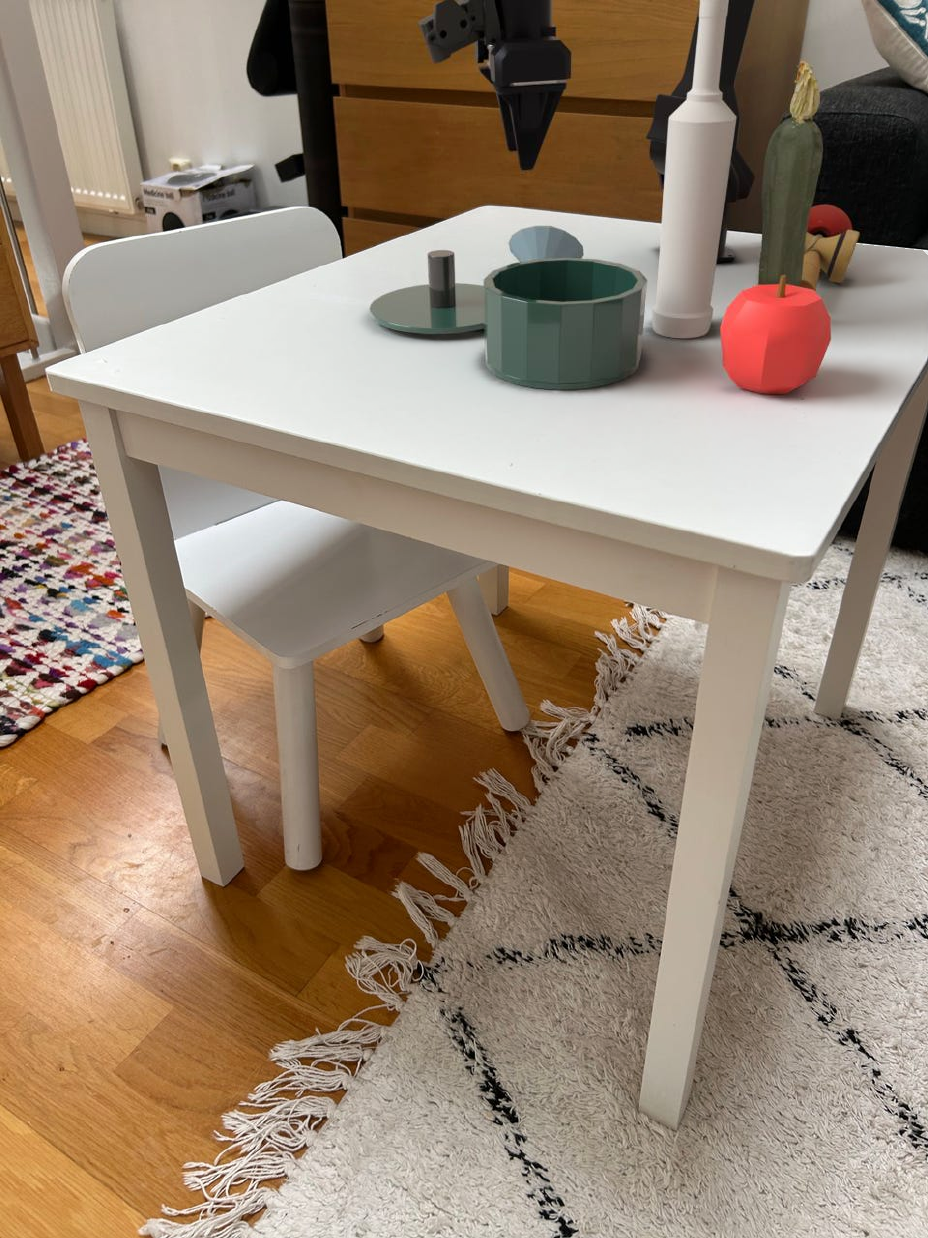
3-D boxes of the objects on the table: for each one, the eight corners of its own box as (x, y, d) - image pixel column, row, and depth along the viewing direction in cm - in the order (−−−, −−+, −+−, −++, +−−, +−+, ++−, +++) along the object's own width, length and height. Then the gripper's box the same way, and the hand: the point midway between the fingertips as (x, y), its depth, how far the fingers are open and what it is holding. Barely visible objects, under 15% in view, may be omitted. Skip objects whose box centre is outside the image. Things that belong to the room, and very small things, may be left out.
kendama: (846, 329, 86) (866, 250, 98) (846, 260, 82) (866, 186, 94) (757, 335, 89) (786, 258, 101) (753, 269, 85) (784, 197, 97)
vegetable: (795, 335, 81) (841, 64, 70) (742, 333, 82) (780, 65, 71) (791, 318, 85) (835, 58, 73) (741, 316, 86) (776, 59, 74)
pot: (479, 339, 83) (478, 261, 79) (621, 331, 83) (627, 254, 80) (493, 393, 73) (492, 307, 69) (654, 385, 73) (662, 299, 69)
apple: (828, 371, 74) (848, 265, 70) (813, 410, 69) (835, 297, 64) (724, 359, 77) (738, 256, 73) (702, 395, 71) (715, 286, 67)
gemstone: (566, 260, 91) (574, 213, 91) (491, 265, 94) (499, 219, 94) (586, 302, 97) (593, 258, 98) (516, 306, 100) (523, 262, 101)
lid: (371, 297, 93) (366, 237, 90) (507, 291, 94) (507, 231, 91) (370, 344, 83) (364, 278, 79) (524, 336, 83) (525, 270, 80)
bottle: (717, 323, 84) (759, -17, 70) (703, 342, 81) (744, -14, 66) (659, 317, 86) (689, -16, 72) (643, 335, 82) (671, -13, 68)
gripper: (415, -43, 86) (427, 147, 96) (425, -38, 71) (438, 187, 80) (538, -50, 87) (538, 140, 96) (574, -47, 72) (570, 178, 81)
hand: (520, 159), depth 88 cm, fingers open, 9 cm apart
